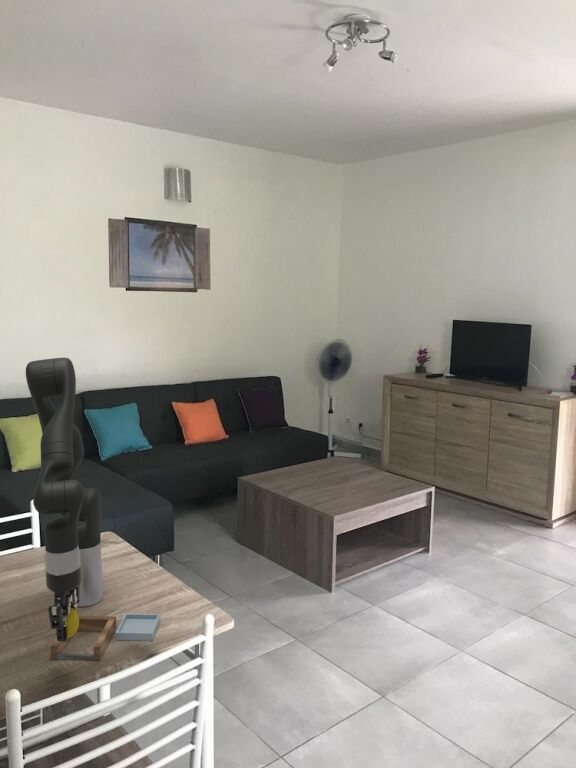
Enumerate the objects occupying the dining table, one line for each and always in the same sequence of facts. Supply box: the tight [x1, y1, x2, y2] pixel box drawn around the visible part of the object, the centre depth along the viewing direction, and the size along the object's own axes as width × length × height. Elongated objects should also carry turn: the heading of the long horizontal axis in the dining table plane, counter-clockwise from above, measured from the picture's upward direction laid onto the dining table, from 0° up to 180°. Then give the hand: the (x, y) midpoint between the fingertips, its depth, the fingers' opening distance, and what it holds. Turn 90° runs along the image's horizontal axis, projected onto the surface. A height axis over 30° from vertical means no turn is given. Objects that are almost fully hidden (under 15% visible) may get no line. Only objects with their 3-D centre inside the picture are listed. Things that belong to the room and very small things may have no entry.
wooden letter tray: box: [50, 615, 117, 661], centre depth 160 cm, size 14×12×4 cm
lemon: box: [54, 607, 79, 639], centre depth 146 cm, size 6×6×8 cm
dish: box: [115, 613, 161, 642], centre depth 167 cm, size 9×9×2 cm
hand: (66, 632), depth 147 cm, fingers closed on lemon, 5 cm apart
